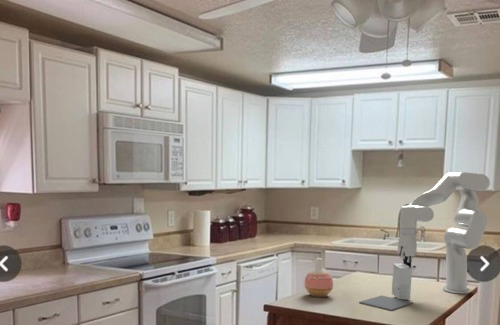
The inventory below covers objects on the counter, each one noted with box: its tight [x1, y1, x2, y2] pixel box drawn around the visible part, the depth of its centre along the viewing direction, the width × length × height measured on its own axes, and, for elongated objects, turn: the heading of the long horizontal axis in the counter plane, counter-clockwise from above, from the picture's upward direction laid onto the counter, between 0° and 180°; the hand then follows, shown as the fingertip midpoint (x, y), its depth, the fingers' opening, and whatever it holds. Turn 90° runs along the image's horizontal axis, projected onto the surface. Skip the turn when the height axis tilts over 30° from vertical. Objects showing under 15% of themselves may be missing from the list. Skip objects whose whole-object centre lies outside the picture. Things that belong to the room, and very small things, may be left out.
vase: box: [303, 257, 334, 298], centre depth 222 cm, size 14×14×18 cm
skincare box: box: [391, 263, 413, 300], centre depth 218 cm, size 8×6×15 cm
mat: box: [359, 295, 414, 312], centre depth 210 cm, size 18×16×1 cm
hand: (407, 270), depth 223 cm, fingers closed
